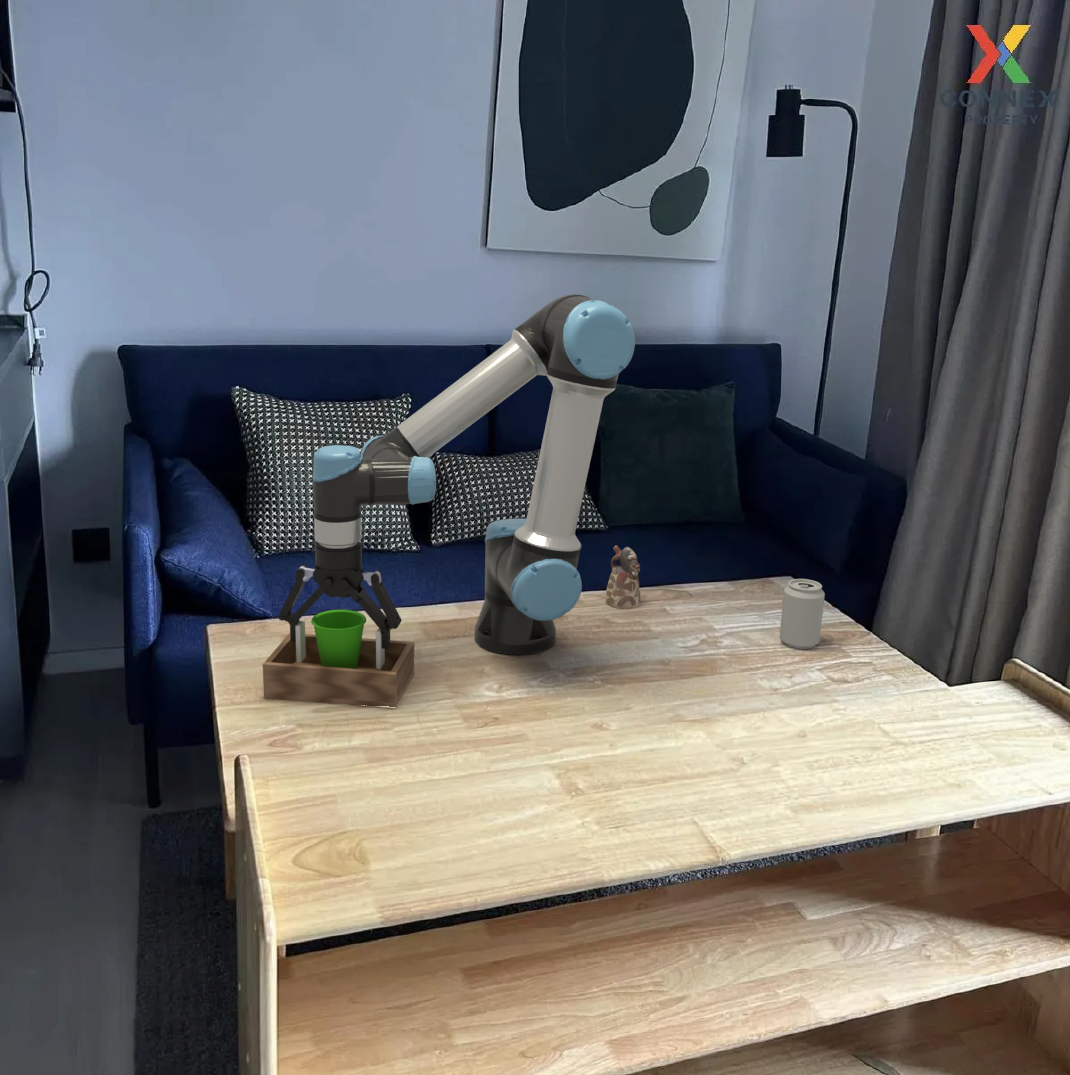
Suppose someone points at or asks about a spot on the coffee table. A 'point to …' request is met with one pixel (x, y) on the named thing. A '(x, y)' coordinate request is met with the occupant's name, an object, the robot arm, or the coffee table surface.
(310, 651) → the tray
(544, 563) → the robot arm
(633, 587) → the figurine
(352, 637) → the cup
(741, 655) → the coffee table surface
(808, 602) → the can
